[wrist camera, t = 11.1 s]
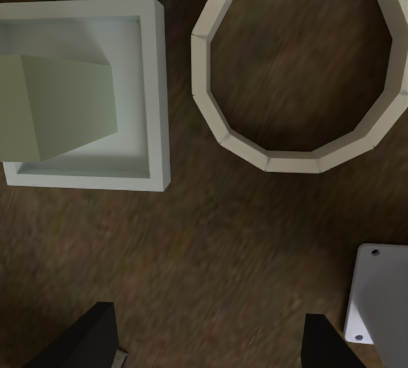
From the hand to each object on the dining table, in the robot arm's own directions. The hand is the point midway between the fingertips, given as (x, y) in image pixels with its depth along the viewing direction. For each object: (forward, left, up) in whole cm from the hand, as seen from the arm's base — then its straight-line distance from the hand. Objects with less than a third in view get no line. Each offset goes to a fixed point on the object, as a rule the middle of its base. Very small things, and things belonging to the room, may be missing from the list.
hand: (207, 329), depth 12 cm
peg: (+9, -8, -10) cm, 15 cm away
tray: (+9, -8, -10) cm, 16 cm away
